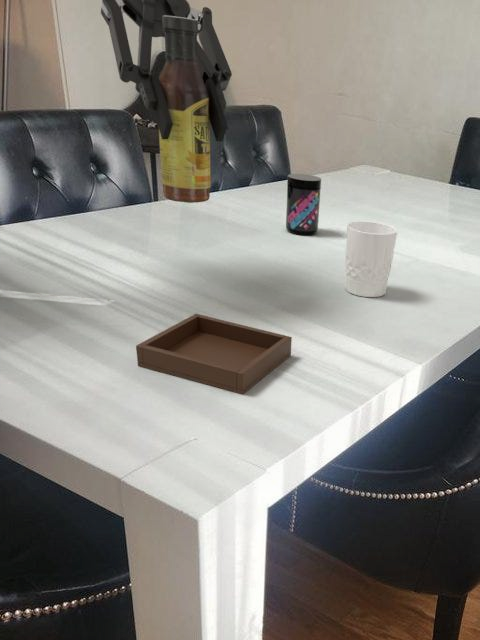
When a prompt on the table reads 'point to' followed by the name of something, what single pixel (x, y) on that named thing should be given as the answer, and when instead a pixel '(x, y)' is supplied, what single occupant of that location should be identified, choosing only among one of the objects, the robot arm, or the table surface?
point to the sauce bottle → (184, 116)
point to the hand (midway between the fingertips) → (195, 132)
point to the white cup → (369, 257)
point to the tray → (215, 352)
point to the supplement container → (303, 204)
